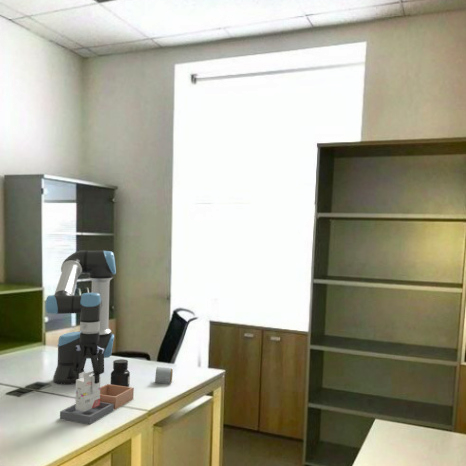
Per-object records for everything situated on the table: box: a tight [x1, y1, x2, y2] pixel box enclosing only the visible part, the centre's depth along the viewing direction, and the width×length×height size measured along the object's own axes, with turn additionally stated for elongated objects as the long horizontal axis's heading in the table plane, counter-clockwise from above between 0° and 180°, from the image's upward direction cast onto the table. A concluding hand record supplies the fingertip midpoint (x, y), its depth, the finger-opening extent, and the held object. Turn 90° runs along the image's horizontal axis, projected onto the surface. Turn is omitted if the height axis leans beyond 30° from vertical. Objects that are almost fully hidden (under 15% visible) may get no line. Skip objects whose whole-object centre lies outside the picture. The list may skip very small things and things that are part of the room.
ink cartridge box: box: [75, 370, 101, 412], centre depth 179 cm, size 9×5×15 cm, turn 148°
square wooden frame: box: [100, 383, 135, 410], centre depth 194 cm, size 14×14×5 cm
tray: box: [59, 402, 114, 425], centre depth 179 cm, size 14×15×3 cm
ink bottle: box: [109, 358, 131, 387], centre depth 216 cm, size 10×9×12 cm
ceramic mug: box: [154, 366, 174, 384], centre depth 224 cm, size 11×8×8 cm
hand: (88, 390), depth 179 cm, fingers closed on ink cartridge box, 6 cm apart
